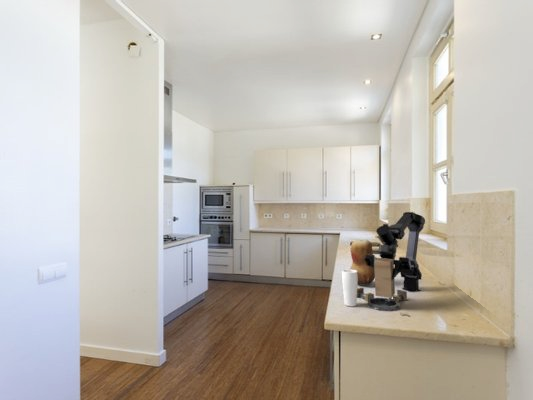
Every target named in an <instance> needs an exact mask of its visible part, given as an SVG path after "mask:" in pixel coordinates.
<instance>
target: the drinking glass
mask: <svg viewBox="0 0 533 400" xmlns="http://www.w3.org/2000/svg"><path fill="white" fill-rule="evenodd" d="M341 282H342V285H341V286H342V293H343V304H344V306H347V307H356V306H357V288H358V285H359V284H358V274H357V271H356V270H350V269H342V270H341Z"/></svg>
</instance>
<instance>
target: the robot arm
mask: <svg viewBox="0 0 533 400" xmlns="http://www.w3.org/2000/svg"><path fill="white" fill-rule="evenodd" d="M425 224H426V219H425V217H424V216H423V215H420V214H417V213H416V212H413V211H405V212H403V214H402V216H401V217H400V218H399V219H398V220H397V222H395V223H394V224H391V225H389V224H388V223H383V224H382V225H380V226H379V227H378V228H377V229H376V234H377V236H378V238H379V239H380V241H381V242H382V243H383V244H379V245H378V253H379V258H386V259H394V270H393V274H392V279H394V280H395V278H396V277H397V276H398V275H399V274H400V277H401V278H403V287H401V288H402V290H403V291H406V292H407V291H408V292H421V291H422V290H421V289H419V288H420V287H419V285H420V284H419V281H420V280H421V281H422V277H423V273H422V272H421V270H420V266H419V263H418V261H417V256H418V255H417V253H418V246H419V237H420V232H422V230H423V229H424V226H425ZM406 229H408V239H407V245H406V253H405V256H399V257H398V259H396V257H397V248H398V247H399V244H398V240H402V239H404V237H405V235H406V233H405V230H406ZM377 258H378V257H376V256H375V254H373V255H369V254H367V255H365V258H364V259H365V261H366V264H367V265H368V266H372V268H374V261H375V260H376V259H377ZM374 272H375V270H374Z"/></svg>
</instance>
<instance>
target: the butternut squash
mask: <svg viewBox="0 0 533 400" xmlns="http://www.w3.org/2000/svg"><path fill="white" fill-rule="evenodd" d="M373 253H374V252H373V244H372V243H371V241H370V240H368V239H358V240H357V239H356V240H354V241H353V242H352V243H351V246H350V255H351V259H352V263H351V265H350V270H356V271H357V274H358V285H359V286H368V285H371V284H372V283H373V282H374V281H375V272H374V268H372V266H368V265H367V264H366V261H365V259H364V258H365V255H367V254H369V255H374V254H373Z"/></svg>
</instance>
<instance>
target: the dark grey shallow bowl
mask: <svg viewBox="0 0 533 400" xmlns="http://www.w3.org/2000/svg"><path fill="white" fill-rule="evenodd" d="M366 306H367V307H369V309H373V310H376V311H382V312H394V311H398V310H400V302H399V303H398V302H397V301H395V300H392V299H389V298H388V297H374V298H371V299H368V302H367V303H366Z"/></svg>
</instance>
